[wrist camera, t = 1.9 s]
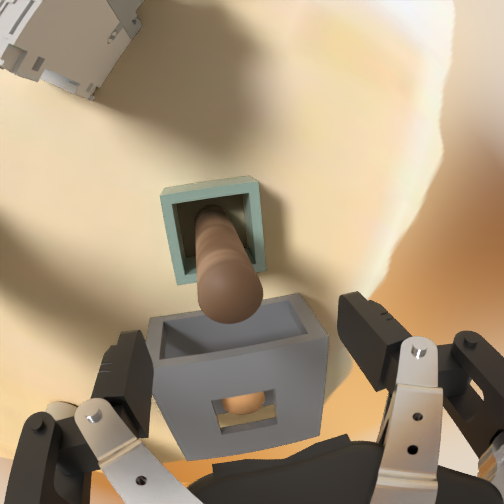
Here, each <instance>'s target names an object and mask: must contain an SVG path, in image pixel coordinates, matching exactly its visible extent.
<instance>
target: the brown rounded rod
mask: <svg viewBox="0 0 504 504" xmlns="http://www.w3.org/2000/svg"><path fill="white" fill-rule="evenodd" d="M195 243H196V269H197V290H198V302H199V306H200V308H201V310H202V311H203V313H204V314H205V315H206V316H207V317H208V318H210V319H211V320H213V321H215V322H218V323H222V324H235V323H239V322H242V321H244V320H246V319H248V318H250V317H251V316H252V315H253V314H254V313H255V312H256V311H257V310H258V308H259V307H260V305H261V302H262V299H263V288H262V285H261V283H260V280H259V278H258V276H257V274H256V272H255V270H254V268H253V266H252V264H251V262H250V259H249V257H248V255H247V253H246V251H245V249H244V247H243V245H242V243H241V240H240V238H239V236H238V234H237V232H236V230H235V228H234V226H233V224H232V221H231V219H230V217H229V215H228V213H227V212H226V210H225V209H223V208H222V207H220V206H217V205H209V206H206V207H204V208H202V209H201V210H200V211H199V212H198V213H197V215H196V218H195Z"/></svg>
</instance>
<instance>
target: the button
mask: <svg viewBox="0 0 504 504" xmlns="http://www.w3.org/2000/svg"><path fill="white" fill-rule="evenodd" d="M264 402H265V396H264V392H263V391H262V392H257V393H252V394H247V395H242V396H236V397H230V398H224V399H222V405H223V408H224V409H225V410H226V411H227V412H229V413H232V414H237V415H243V414H249V413H252V412H254V411H256V410H258V409H259V408H260V407H261V406H262V405H263V404H264Z"/></svg>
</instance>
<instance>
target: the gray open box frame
mask: <svg viewBox="0 0 504 504" xmlns="http://www.w3.org/2000/svg"><path fill="white" fill-rule="evenodd" d="M328 343H329V335H328V334H327V332H326V331H325V329H324V328H323V326H322V325H321V323H320V322H319V320H318V319H317V318H316V316H315V315H314V313H313V312H312V310H311V309H310V307H309V306H308V304H307V303H306V301H305V300H304V298H303V297H302V296H301V294H300V293H296V294H291V295H286V296H281V297H276V298H270V299H265V300H262V302H261V305H260V307H259V308H258V310H257V311H256V312H255V313H254V314H253V315H252V316H251V317H250V318H248V319H246V320H244V321H242V322H239V323H235V324H222V323H218V322H215V321H213V320H211V319H210V318H208V317H207V316H206V315H205V314H204V313H203V311H202V310H200V311H194V312H187V313H181V314H174V315H167V316H160V317H153V318H150V321H149V327H148V332H147V338H146V346H147V348H148V351H149V354H150V356H151V359H152V362H153V368H154V377H153V387H152V394H153V396H154V398H155V401H156V403H157V405H158V407H159V409H160V411H161V413H162V415H163V417H164V419H165V421H166V423H167V425H168V427H169V429H170V431H171V433H172V435H173V436H174V438H175V440H176V442H177V444H178V446H179V448H180V449H181V451H182V453H183V455H184V456H185V458H186V460H187V461H192V460H201V459H209V458H218V457H225V456H231V455H238V454H244V453H249V452H254V451H259V450H264V449H269V448H274V447H278V446H282V445H287V444H291V443H294V442H298V441H302V440H306V439H309V438H313V437H316V436H319V435H320V428H321V420H322V411H323V402H324V392H325V382H326V370H327V358H328ZM262 391H263V392H264V396H265V402H264V404H263V405H262V406H266V405H271V404H275V418H270V419H266V420H261V421H256V422H251V423H245V424H240V425H234V426H228V427H222V428H220V425H219V421H218V418H217V415H216V414H223V413H229V412H227V411H226V410H225V409H224V408H223V405H222V399H224V398H230V397H236V396H242V395H247V394H252V393H257V392H262Z"/></svg>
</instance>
